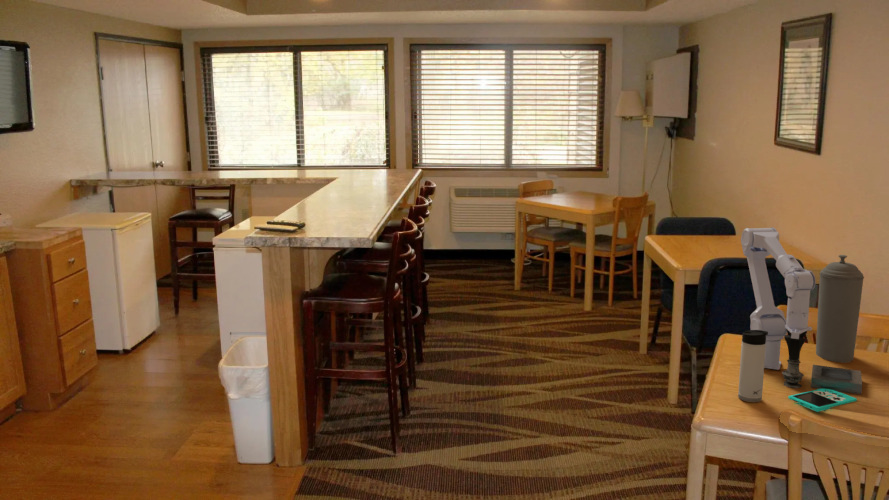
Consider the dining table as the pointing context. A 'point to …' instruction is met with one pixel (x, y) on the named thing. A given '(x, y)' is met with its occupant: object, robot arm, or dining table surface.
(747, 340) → the travel mug
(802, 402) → the handheld game console
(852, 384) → the square socket
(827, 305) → the canister
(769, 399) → the dining table surface
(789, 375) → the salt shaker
